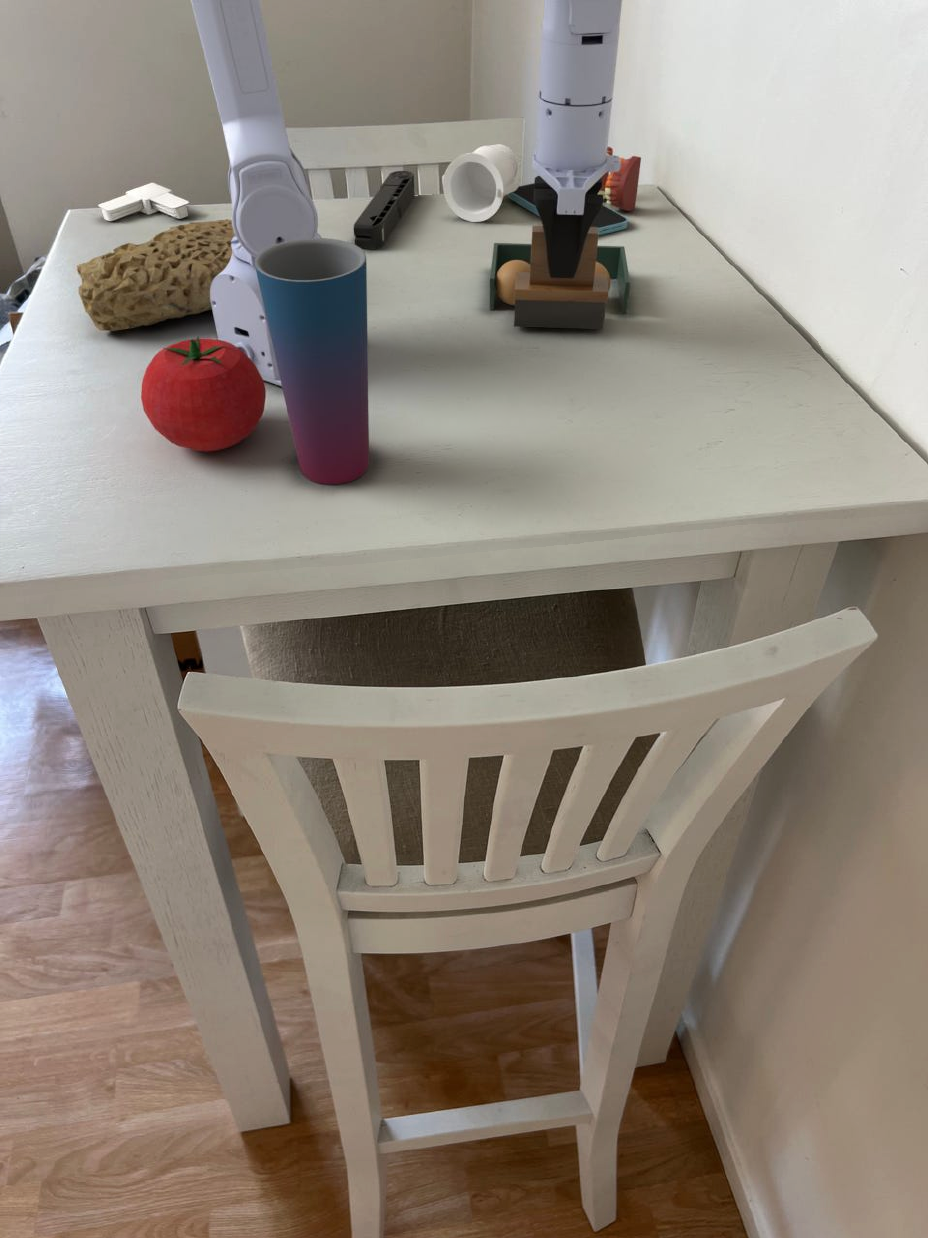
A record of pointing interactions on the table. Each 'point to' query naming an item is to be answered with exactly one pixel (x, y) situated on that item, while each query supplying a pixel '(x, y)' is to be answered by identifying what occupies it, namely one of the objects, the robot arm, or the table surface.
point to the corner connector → (145, 203)
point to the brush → (561, 290)
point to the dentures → (622, 183)
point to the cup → (321, 351)
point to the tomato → (203, 394)
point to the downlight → (480, 182)
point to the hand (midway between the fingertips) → (561, 271)
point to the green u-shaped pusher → (606, 255)
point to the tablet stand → (384, 210)
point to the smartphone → (604, 221)
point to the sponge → (156, 276)
